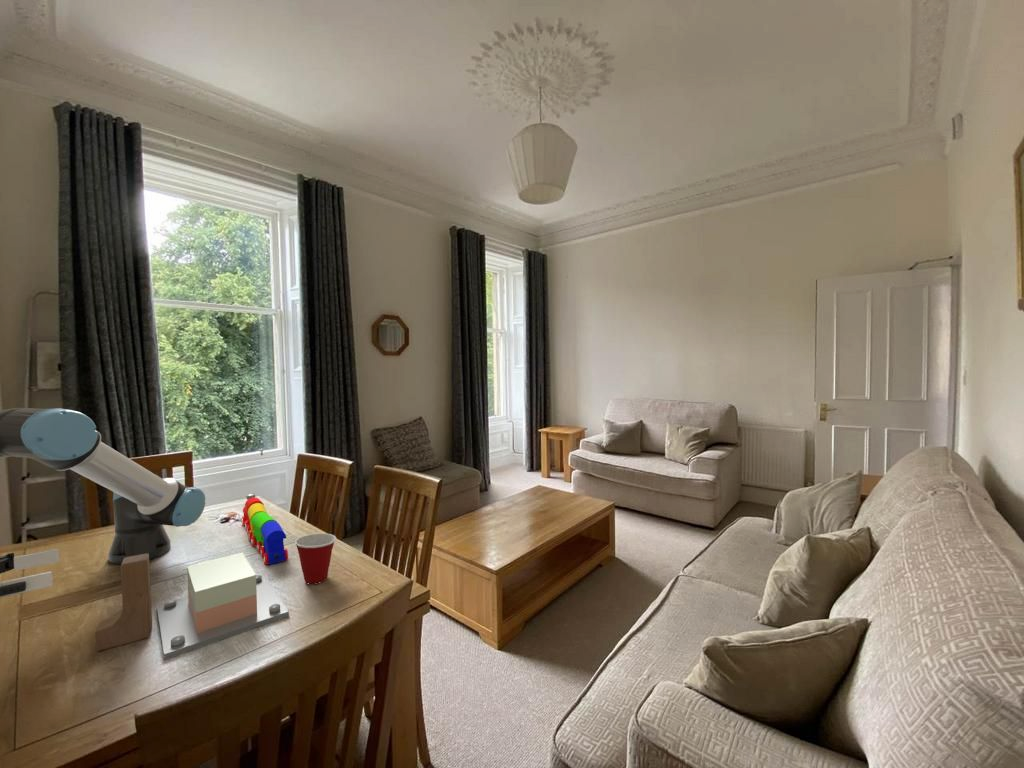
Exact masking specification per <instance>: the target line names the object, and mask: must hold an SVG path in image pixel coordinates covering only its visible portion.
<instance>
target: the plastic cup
mask: <svg viewBox="0 0 1024 768" xmlns="http://www.w3.org/2000/svg"><path fill="white" fill-rule="evenodd" d="M336 541H337V537H336V535H334V534H331V533H312V534H306V535H302V536H299V537H297V538H296V539H295V540H294V544H295V546H296V549H297V552H298V555H299V562H300V566H301V572H302V575H303V579H304V583H305V582H306V583H309V584H315V583H319V582H322V581H324V580H325V579H326V578H328V575H329V569H330V564H331V558H332V552H333V548H334V545H335V542H336ZM326 580H327V579H326ZM326 580H325V581H326ZM325 581H324V582H325ZM306 583H305V584H306ZM322 583H323V582H322ZM309 584H308V585H309ZM319 584H320V583H319ZM315 585H316V584H315Z"/></svg>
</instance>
